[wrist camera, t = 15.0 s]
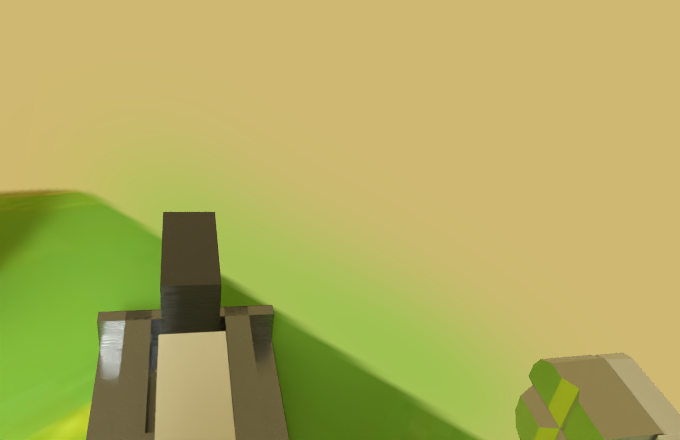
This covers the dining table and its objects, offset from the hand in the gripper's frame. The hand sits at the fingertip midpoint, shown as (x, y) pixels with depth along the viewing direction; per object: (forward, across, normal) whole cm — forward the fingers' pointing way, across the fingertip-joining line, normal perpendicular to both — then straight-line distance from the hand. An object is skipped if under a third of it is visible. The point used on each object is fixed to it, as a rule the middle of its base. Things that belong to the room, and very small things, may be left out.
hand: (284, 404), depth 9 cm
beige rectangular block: (+12, +1, +25) cm, 27 cm away
